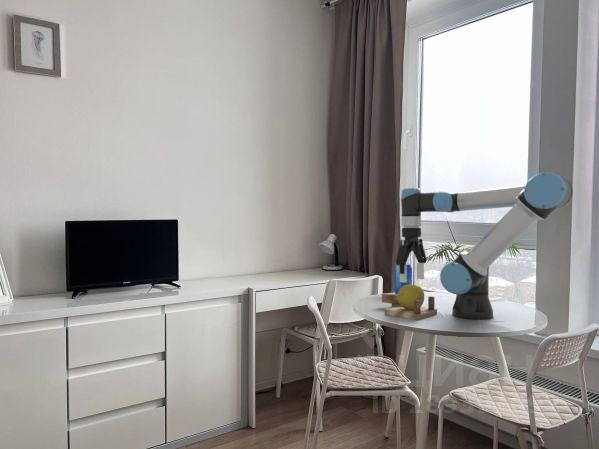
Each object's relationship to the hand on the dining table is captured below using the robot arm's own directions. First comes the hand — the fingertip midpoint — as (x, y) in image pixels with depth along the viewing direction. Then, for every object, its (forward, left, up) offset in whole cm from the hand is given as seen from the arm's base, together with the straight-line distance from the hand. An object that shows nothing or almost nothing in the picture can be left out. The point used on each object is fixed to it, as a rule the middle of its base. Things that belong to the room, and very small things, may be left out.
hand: (412, 280), depth 185 cm
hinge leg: (+11, -5, -11) cm, 17 cm away
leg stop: (+12, -9, -14) cm, 21 cm away
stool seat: (0, 0, -14) cm, 14 cm away
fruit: (0, 0, -12) cm, 12 cm away
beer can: (+25, -37, -14) cm, 47 cm away
